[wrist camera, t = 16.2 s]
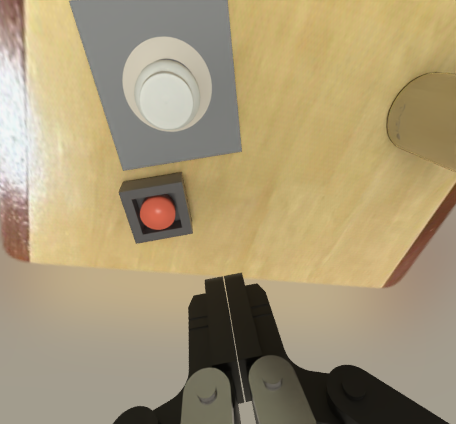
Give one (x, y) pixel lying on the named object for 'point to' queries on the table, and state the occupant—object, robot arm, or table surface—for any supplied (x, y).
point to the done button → (158, 211)
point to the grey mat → (152, 51)
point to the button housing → (165, 184)
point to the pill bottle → (167, 94)
